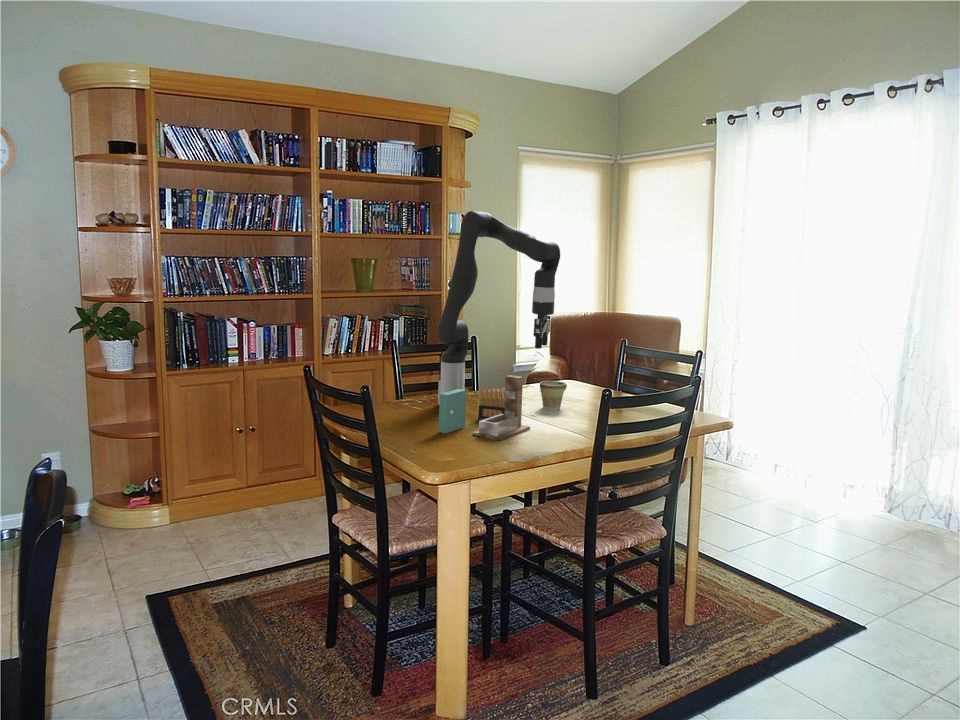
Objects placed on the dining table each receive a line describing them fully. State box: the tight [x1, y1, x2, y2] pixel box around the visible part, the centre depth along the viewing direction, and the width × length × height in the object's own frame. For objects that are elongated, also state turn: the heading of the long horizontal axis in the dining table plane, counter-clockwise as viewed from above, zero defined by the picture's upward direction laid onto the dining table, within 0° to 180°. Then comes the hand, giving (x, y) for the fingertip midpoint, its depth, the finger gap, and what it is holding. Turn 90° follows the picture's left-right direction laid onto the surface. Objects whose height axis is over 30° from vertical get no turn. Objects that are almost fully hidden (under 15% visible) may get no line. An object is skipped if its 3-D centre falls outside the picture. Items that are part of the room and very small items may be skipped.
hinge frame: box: [471, 375, 531, 442], centre depth 245 cm, size 11×19×18 cm, turn 147°
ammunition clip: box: [477, 385, 505, 420], centre depth 263 cm, size 11×2×12 cm, turn 71°
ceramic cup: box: [539, 380, 567, 411], centre depth 285 cm, size 13×10×10 cm
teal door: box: [438, 389, 467, 434], centre depth 247 cm, size 4×11×13 cm, turn 147°
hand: (541, 346), depth 256 cm, fingers open, 8 cm apart
